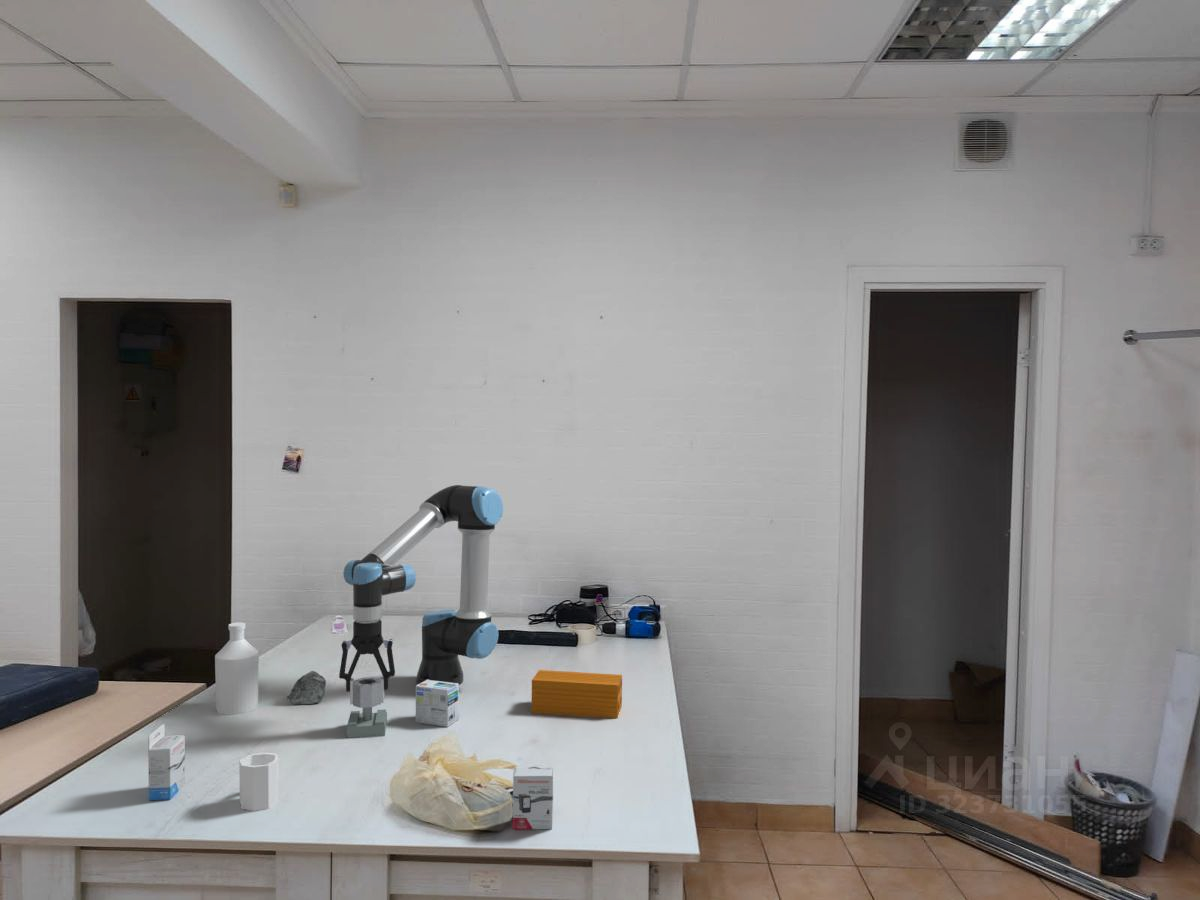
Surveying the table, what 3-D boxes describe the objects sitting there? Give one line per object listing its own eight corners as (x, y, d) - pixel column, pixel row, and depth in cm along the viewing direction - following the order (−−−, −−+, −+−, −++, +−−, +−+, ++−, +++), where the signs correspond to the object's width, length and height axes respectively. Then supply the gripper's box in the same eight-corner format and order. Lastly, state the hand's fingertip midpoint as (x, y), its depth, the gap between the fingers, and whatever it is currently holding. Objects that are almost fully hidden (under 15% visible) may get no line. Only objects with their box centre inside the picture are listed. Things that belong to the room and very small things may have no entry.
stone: (303, 673, 251) (320, 663, 260) (279, 692, 252) (297, 681, 262) (322, 699, 250) (339, 687, 260) (299, 718, 252) (316, 706, 261)
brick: (621, 707, 255) (622, 674, 254) (617, 719, 245) (617, 685, 244) (538, 702, 259) (539, 669, 258) (531, 713, 249) (531, 680, 248)
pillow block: (386, 722, 239) (387, 687, 239) (384, 735, 229) (384, 699, 229) (350, 724, 237) (350, 689, 237) (346, 738, 227) (346, 701, 227)
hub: (381, 697, 237) (382, 676, 237) (380, 706, 230) (380, 685, 230) (354, 699, 236) (354, 678, 236) (352, 708, 229) (352, 686, 228)
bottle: (236, 699, 257) (235, 618, 256) (267, 704, 253) (267, 621, 252) (206, 712, 246) (205, 627, 245) (238, 717, 242) (238, 631, 241)
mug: (272, 811, 185) (272, 767, 185) (232, 811, 185) (232, 767, 185) (290, 787, 197) (290, 745, 197) (252, 787, 197) (252, 745, 197)
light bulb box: (459, 719, 242) (459, 682, 242) (447, 727, 236) (448, 689, 235) (426, 715, 246) (427, 678, 245) (414, 722, 239) (414, 685, 239)
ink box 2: (511, 830, 178) (512, 775, 178) (513, 819, 183) (513, 765, 183) (552, 829, 179) (553, 774, 178) (552, 818, 184) (553, 765, 183)
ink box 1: (170, 800, 190) (170, 736, 189) (147, 801, 189) (147, 736, 189) (186, 784, 198) (185, 722, 198) (164, 784, 198) (163, 722, 197)
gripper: (405, 615, 238) (405, 695, 239) (330, 617, 234) (330, 699, 235) (404, 622, 230) (404, 704, 231) (327, 624, 226) (327, 708, 227)
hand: (367, 701), depth 233 cm, fingers closed on hub, 7 cm apart
